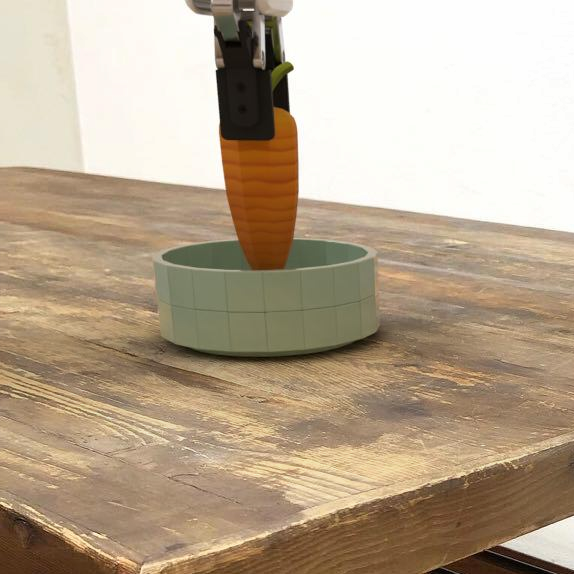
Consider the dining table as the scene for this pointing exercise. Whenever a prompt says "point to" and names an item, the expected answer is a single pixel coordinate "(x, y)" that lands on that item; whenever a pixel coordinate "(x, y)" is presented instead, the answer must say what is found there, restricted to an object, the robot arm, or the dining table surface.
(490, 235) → the dining table surface
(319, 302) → the bowl
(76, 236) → the dining table surface
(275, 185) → the carrot
